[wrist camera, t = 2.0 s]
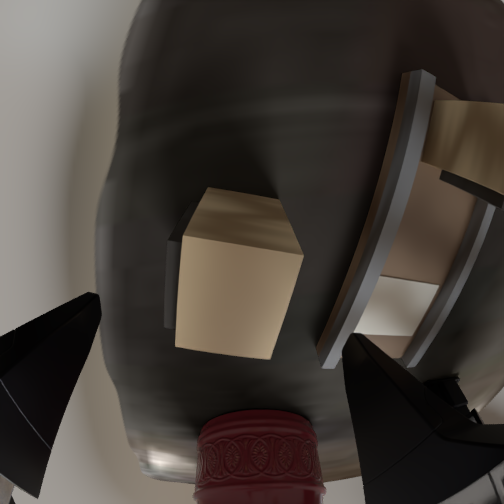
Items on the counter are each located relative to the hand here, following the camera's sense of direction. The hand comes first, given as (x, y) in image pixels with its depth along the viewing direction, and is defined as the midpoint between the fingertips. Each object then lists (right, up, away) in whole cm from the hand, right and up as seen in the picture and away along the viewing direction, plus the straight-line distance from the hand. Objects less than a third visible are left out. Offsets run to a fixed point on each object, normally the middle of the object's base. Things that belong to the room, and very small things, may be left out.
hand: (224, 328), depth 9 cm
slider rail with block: (+12, +3, +8) cm, 15 cm away
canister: (+1, -18, +18) cm, 25 cm away
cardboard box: (0, +4, +7) cm, 8 cm away
